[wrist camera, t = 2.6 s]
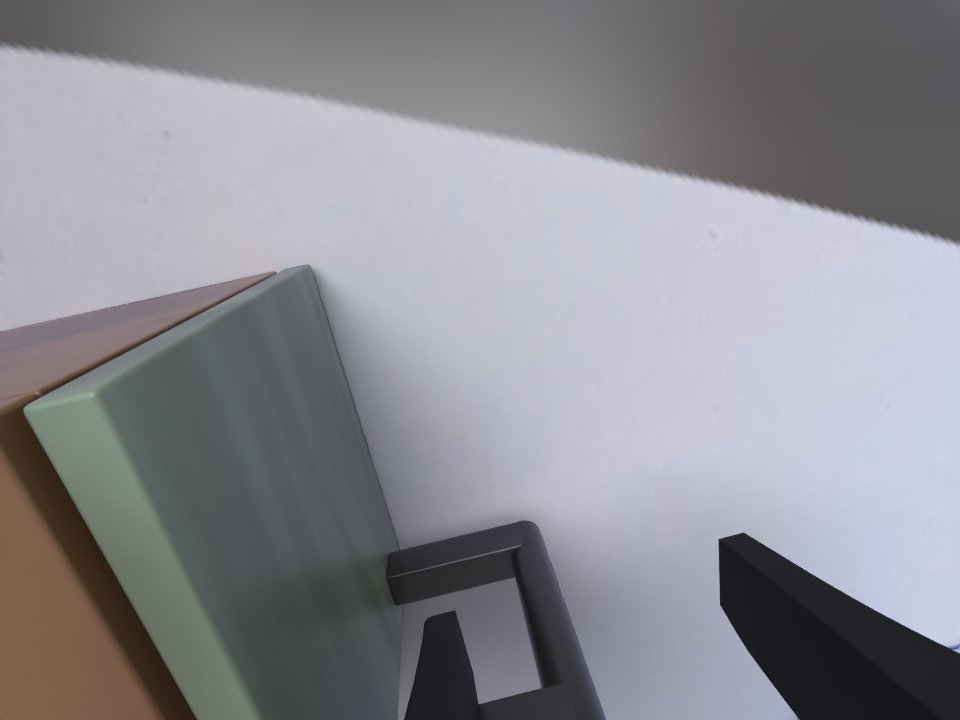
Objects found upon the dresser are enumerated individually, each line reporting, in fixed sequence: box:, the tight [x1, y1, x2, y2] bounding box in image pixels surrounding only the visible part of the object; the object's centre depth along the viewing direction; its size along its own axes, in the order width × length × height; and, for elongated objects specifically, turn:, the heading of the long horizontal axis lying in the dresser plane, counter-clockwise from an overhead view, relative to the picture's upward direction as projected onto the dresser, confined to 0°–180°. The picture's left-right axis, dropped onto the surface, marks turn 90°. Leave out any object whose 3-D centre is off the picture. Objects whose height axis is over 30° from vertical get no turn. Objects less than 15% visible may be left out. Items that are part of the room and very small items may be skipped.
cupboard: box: [0, 271, 277, 720], centre depth 12 cm, size 10×12×11 cm
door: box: [23, 264, 606, 720], centre depth 12 cm, size 6×12×10 cm, turn 11°
